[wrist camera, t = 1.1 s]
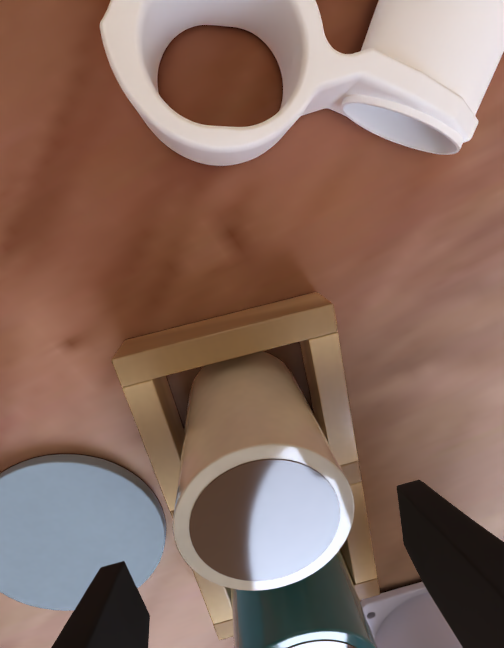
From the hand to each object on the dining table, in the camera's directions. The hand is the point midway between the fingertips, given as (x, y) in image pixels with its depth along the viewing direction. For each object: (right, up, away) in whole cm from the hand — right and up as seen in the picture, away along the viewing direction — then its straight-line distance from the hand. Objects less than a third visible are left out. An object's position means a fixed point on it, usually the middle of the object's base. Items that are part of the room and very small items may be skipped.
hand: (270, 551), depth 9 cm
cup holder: (0, -1, +9) cm, 9 cm away
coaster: (-10, -5, +9) cm, 14 cm away
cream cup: (-1, +2, +7) cm, 8 cm away
